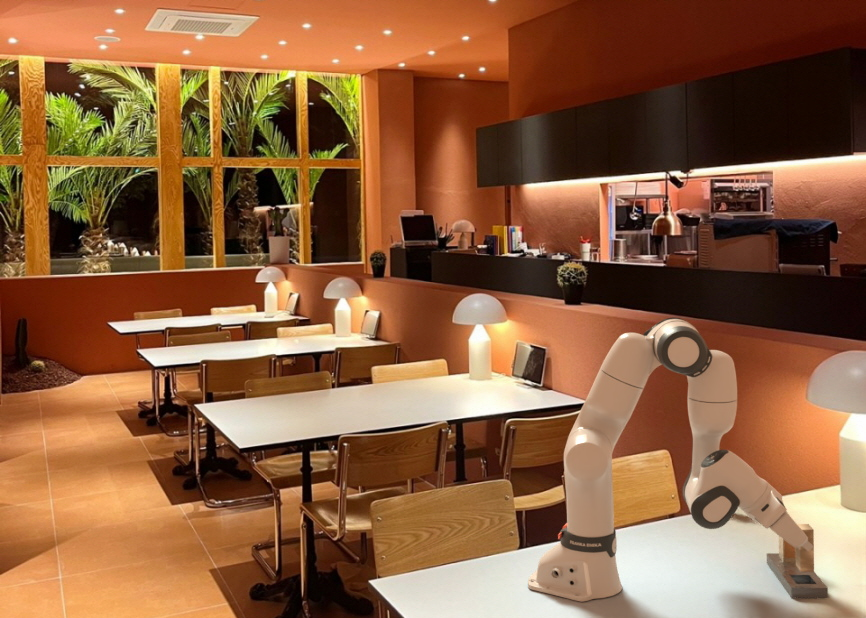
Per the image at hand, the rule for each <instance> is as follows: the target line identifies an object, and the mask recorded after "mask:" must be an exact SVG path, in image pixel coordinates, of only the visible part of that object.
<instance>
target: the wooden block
mask: <svg viewBox="0 0 866 618" xmlns="http://www.w3.org/2000/svg"><path fill="white" fill-rule="evenodd" d="M796 524H797V525H798V526H799V527H800V528H801V529H802V531H803V532H804V533H805V534H806V536H807V537H808V541H809V542H810V543H811V544H812V545H813V548H812V549H811V550H810V551H807V550H806V549H805V548H804V547H802V546H801V547H800V548H796V566H797V568H798V569H799V570H800V572H815V542H814V541H815V540H814V539H815V537H814V535H815V533H814V528H813V527H812V526H811V525H810V524H809V523H796Z"/></svg>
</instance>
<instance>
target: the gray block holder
mask: <svg viewBox="0 0 866 618" xmlns="http://www.w3.org/2000/svg"><path fill="white" fill-rule="evenodd" d="M766 564H767V565H768V567H769V568H770V570H771V571H772V572H773V574H774V576H775V577H776V579H777V580H778V581H779V583H780V584H781V586H782V587H783V588H784V590H785V591H786V593H787V594H788V596H789V595H790V596H789V597H790V598H791V599H817V598H828V599H829V597H828V595H829V588H828V586H827V585H826V584H825V583H824V582H823V580H822V579H821V578H820V577H819V575H818V574H817V573H816V572H815V571H814V572H800V570H799V569H798V568H797V566H796V548H795V547H793V546H792V545H790V544H789V543H788V542H786V541H785V540H784V539H782V538H781V537H780V536H779V535H778V553H776V552H775V553H771V552H770V553H769V552H768V553H766Z"/></svg>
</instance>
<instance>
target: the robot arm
mask: <svg viewBox="0 0 866 618" xmlns="http://www.w3.org/2000/svg"><path fill="white" fill-rule="evenodd" d="M659 366H663V367H664V368H666V369H667V370H669V371H671V372H673V373H676V374H681V375H683V376H686V378H687V383H688V385H687V414H688V420H689V427H690V428H691V434H692V446H691V447H692V448H691V467H690V470H689V472H688V475H687V477H686V478H685V481H684V483H683V486H682V497H683V500H684V502H685V503H686V505H687V507H688V510H689V512H690V515H691V517H692V519H693V521H694V522H695V524H697V525H699V526H700V527H701V528H703V529H709V530H716V529H719V528H722V527H724V526H725V525H726V524H727V523H728V522H729V520H730V519H731V518H732V517H733V516H734V514H736V511H738V508H739V509H740V510H741V511H743V512H744V514H746V515H747V516H748V517H749V518H750V519H751V520H753V522H755V523H758V524H760V525H762V527H764V528H765V529H767V530H768V529H770V530H771V531H772V532H773V533H775V534H776V535H777V536H778V537H779V536H780V537H781V538H782V539H784V540H785V541H786V542H788V543H789V544H790V545H792V546H793V547H795V548H800V547H801V546H802V547H804V548H805V549H806V550H807V551H810V550H811V549H812V548H813V545H812V544H811V543H810V542H809V541H808V537H807V536H806V534H805V533H804V532H803V531H802V529H801V528H800V527H799V526H798V525H797V524H798V523H797V522H796V521H795V520H794V519H793V518H792V516H791V515H790V514H789V513H788V509H787V508H786V506H785V504H784V501H783V495H782V494H781V493H780V492H779V491H777V489H776V488H775V487H773V486H772V485H771V484H770V483H769V482H768V481H767V480H765V479H764V478H762V477H760V475H758V474H757V473H756V471H755V470H754V469H753V467H752V466H750V465H749V464H748V463H747V462H746V461H745V460H743V459H742V458H741V456H738V455H737V454H736V453H734V452H733V451H731V450H729V449H720V446H721V445H720V443H721V440H722V438H723V436H724V435H725V434H727V433H729V431H730V430H731V429H732V428H733V427H734V424H735V420H736V416H737V409H738V382H737V381H738V380H737V374H736V373H737V372H736V367H735V362H734V360H733V357H732V356H731V355H729V354H728V353H726V352H724V351H721V350H719V349H718V350H717V349H710V348H709V346H708V345H707V343H706V341H705V339H704V338H703V336H702V335H701V334H700V332H699V330H698V329H697V328H696V327H695V326H694V325H692V323H690V322H689V321H687V320H684V319H683V318H680V317H667V318H665V319H663V320H660V321H659V322H657V323H656V324H655V325H653V326H652V327H650V328H649V329H647V330H646V331H645V332H644V333H643V334H642V333H641V334H640V333H639V332H638V333H637V332H625V333H622V334H620V335H619V337H618V338H617V339H616V341H615V342H614V343H613V344H612V346H611V348H610V349H609V351H608V353H607V354H606V356H605V358H604V359H603V361H602V364H601V365H600V368H599V370H598V372H597V374H596V377H595V378H594V380H593V384H592V386H591V388H590V390H589V392H588V394H587V396H586V398H585V401H584V402H583V405H582V406H581V409H580V411H579V413H578V415H577V418H576V419H575V422H574V424H573V426H572V428H571V430H570V432H569V434H568V436H567V440H566V444H565V448H564V449H563V469H564V472H563V473H564V482H565V483H564V484H565V495H566V523H565V524H564V525H563V526H562V529H561V530H560V531H559V533H558V534H557V537H558V538H557V540H559V541H560V542H558V543H557V544H556V545H554V546H553V547H551V548H550V549H548V550H547V551H546V552H545V553H544V554H543V555H542V556H541V557H540V559H539V561H538V563H537V564H538V565H537V569H536V570H535V571H533V573H532V574H531V575H530V576H529V577H528V581H527V587H528V589H530V590H532V591H535V592H540V593H544V594H548V595H552V596H553V595H554V596H557V597H561V598H565V599H568V600H572V601H576V602H577V601H578V602H588V601H591V600H594V599H596V600H597V599H604V598H610V597H613V596H615V595H617V594H619V593H620V592H621V591H622V589H623V585H622V582H621V579H620V575H619V571H618V565H617V558H616V554H617V546H618V545H617V540H618V539H617V536H616V535H617V533H616V532H617V531H616V529H615V528H614V527H615V525H614V524H615V523H614V521H615V519H614V518H615V517H614V490H613V489H614V488H613V487H614V485H613V452H614V449H615V447H616V444H617V443H618V441H619V439H620V436H621V435H622V433H623V430H625V428H626V425H627V424H628V422H629V420H630V419H631V417H632V415H633V412H634V410H635V409H636V406H637V404H638V402H639V400H640V397H641V395H642V393H643V391H644V389H645V387H646V384H647V382H648V380H649V377H650V375H651V374H652V373H653V372H654V371H655V369H656V368H659Z"/></svg>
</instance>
